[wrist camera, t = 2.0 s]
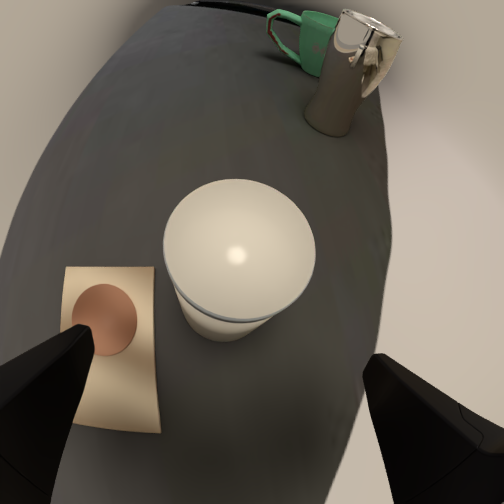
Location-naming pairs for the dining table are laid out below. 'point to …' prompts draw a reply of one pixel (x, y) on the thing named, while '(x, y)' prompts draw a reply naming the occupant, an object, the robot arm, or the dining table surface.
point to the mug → (305, 37)
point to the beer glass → (350, 70)
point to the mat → (116, 345)
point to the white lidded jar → (237, 256)
